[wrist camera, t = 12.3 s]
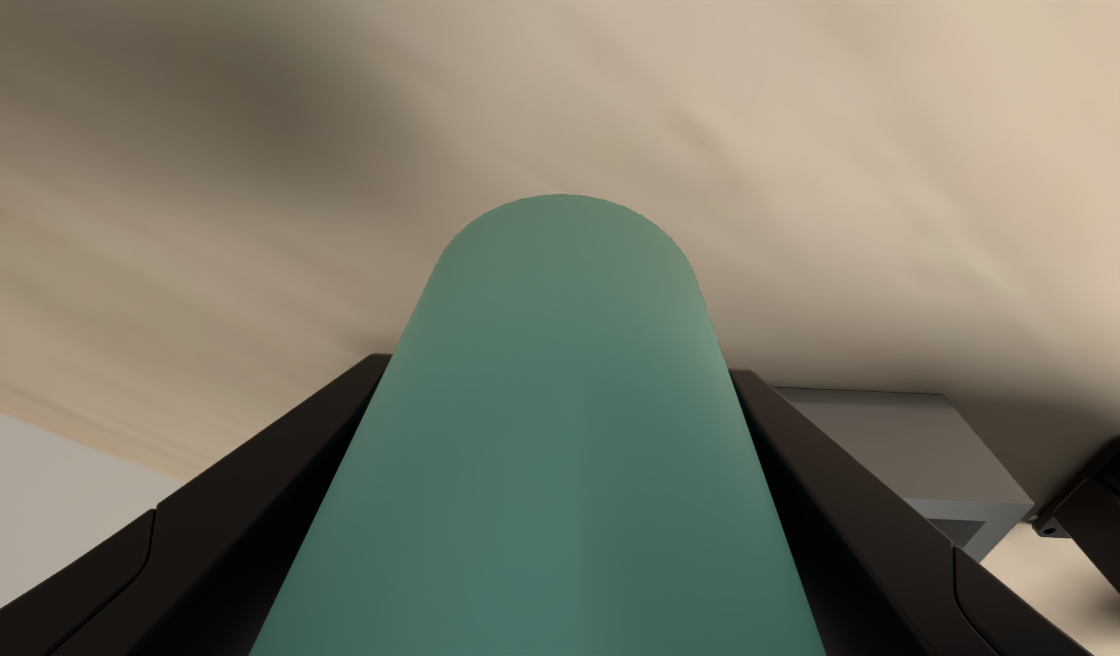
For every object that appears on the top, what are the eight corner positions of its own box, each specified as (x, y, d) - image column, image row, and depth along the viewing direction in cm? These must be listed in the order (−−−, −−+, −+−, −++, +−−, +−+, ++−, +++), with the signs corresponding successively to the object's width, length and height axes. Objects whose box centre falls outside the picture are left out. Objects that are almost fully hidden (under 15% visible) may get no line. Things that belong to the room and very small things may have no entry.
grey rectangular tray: (943, 394, 20) (1035, 504, 16) (825, 578, 28) (866, 681, 24) (490, 374, 20) (468, 477, 16) (504, 562, 28) (491, 662, 24)
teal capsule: (725, 195, 8) (1094, 831, 2) (681, 421, 11) (789, 938, 5) (403, 193, 8) (-41, 774, 2) (447, 416, 11) (302, 908, 5)
